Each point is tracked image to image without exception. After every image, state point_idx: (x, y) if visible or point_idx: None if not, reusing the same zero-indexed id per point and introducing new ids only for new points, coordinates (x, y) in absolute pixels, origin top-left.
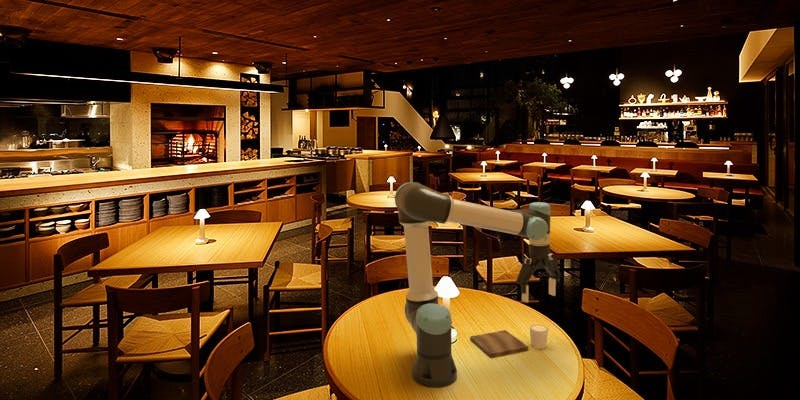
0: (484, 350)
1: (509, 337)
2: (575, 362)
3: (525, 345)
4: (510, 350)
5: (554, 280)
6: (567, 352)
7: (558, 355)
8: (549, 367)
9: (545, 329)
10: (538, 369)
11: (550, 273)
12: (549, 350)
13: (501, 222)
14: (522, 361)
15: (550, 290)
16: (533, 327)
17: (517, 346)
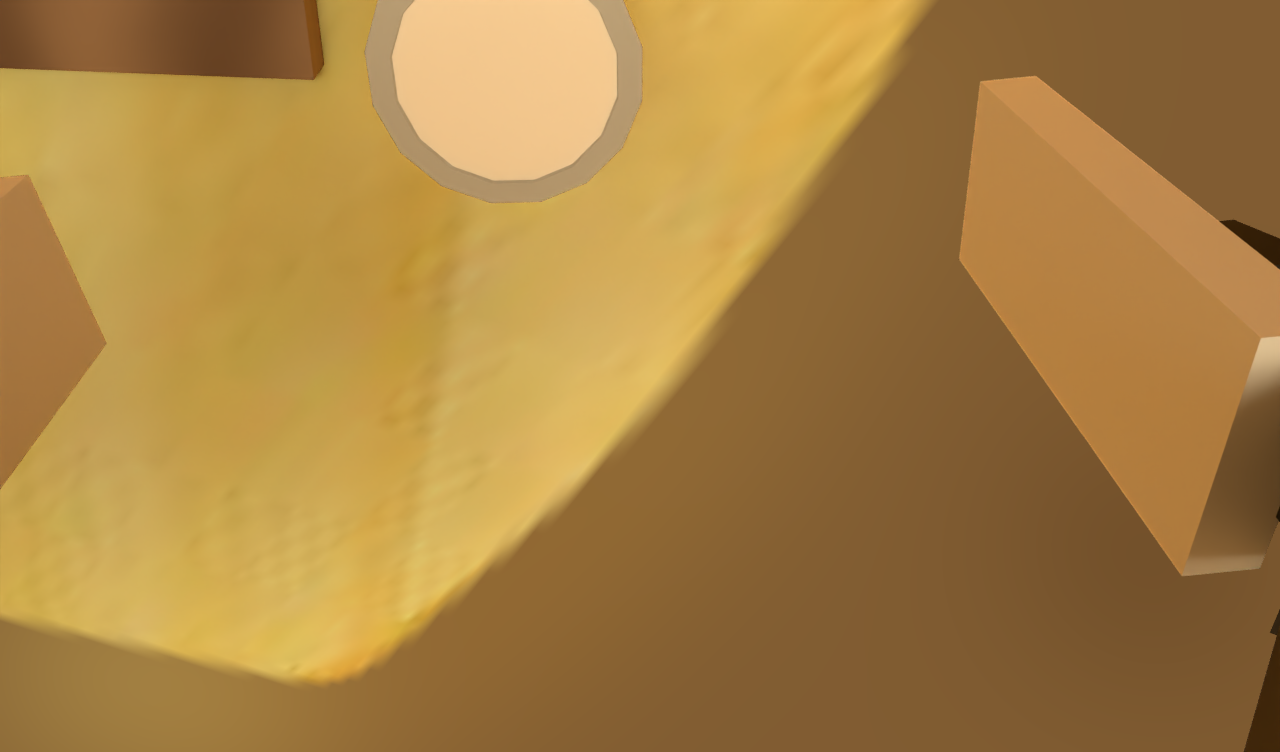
0: None
1: None
2: (622, 423)
3: (291, 39)
4: (44, 67)
5: (1181, 546)
6: (697, 264)
7: (571, 278)
8: (349, 413)
9: (574, 142)
10: (233, 407)
11: (1264, 720)
12: None
13: None
14: (142, 244)
15: (1014, 196)
16: (448, 5)
17: (174, 18)
